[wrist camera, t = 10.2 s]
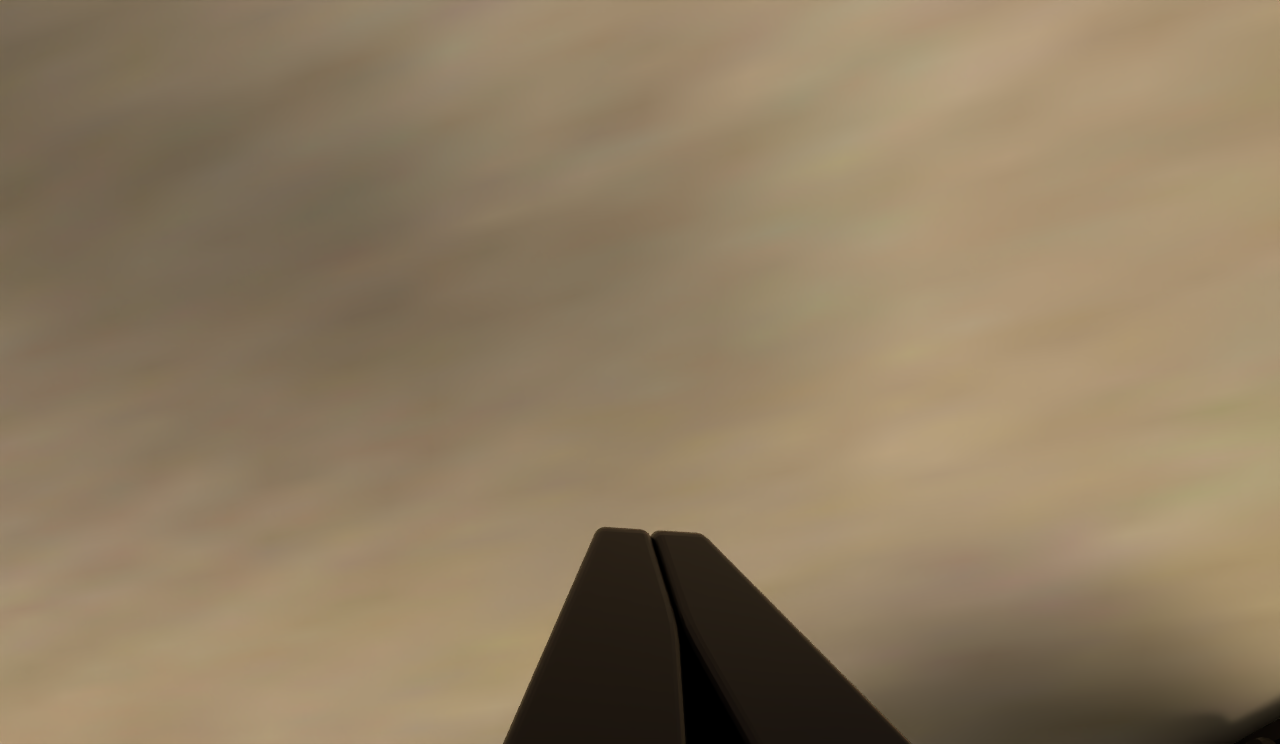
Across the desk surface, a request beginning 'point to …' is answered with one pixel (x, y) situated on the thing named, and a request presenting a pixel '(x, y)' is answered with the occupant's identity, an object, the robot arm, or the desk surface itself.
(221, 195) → the desk surface
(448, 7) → the desk surface
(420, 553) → the desk surface
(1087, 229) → the desk surface
